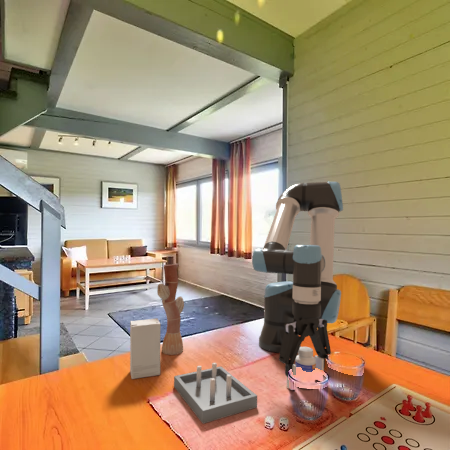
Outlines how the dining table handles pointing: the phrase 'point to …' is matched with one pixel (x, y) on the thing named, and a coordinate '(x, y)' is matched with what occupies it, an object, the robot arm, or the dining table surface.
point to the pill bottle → (305, 359)
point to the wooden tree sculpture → (171, 310)
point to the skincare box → (145, 348)
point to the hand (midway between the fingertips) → (305, 384)
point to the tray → (214, 393)
